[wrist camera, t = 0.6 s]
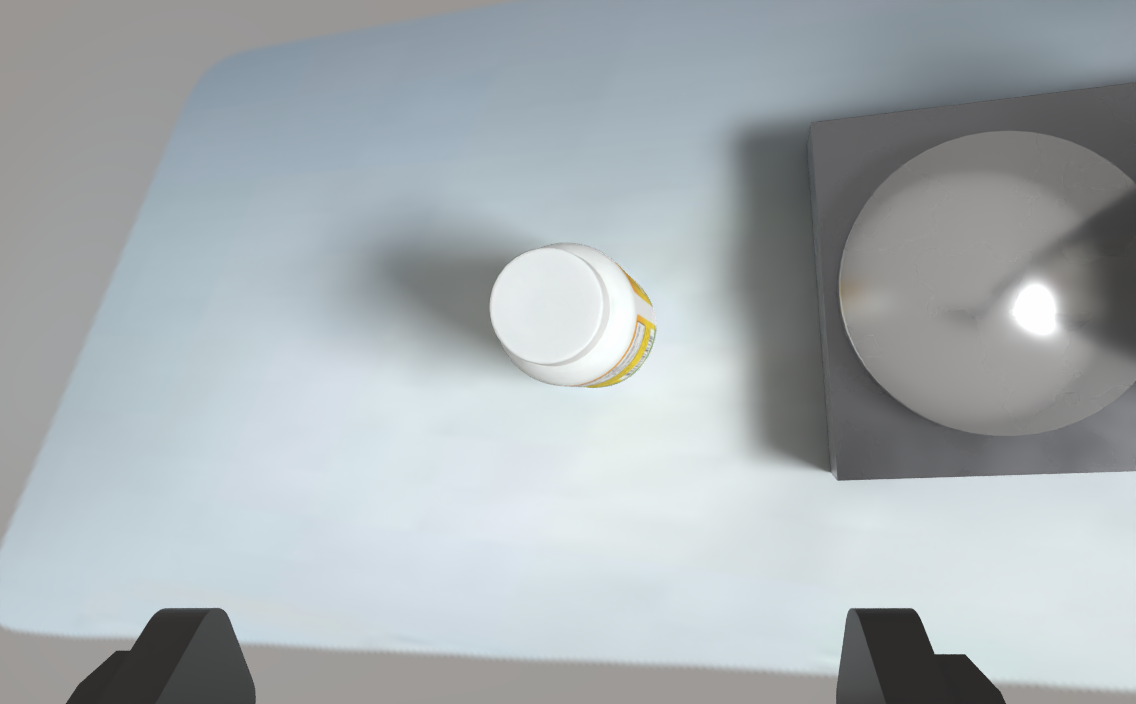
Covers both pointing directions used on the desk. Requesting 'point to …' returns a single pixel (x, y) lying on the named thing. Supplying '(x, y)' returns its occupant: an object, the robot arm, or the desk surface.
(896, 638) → the robot arm
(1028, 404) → the scale
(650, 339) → the supplement bottle
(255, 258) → the desk surface
